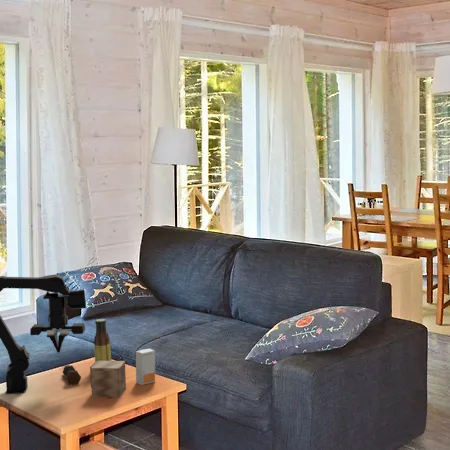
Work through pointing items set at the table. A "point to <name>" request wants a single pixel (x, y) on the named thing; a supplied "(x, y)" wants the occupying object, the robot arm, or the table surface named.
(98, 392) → the housing
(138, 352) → the skincare box
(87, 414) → the table surface
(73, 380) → the bolt
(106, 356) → the sauce bottle
